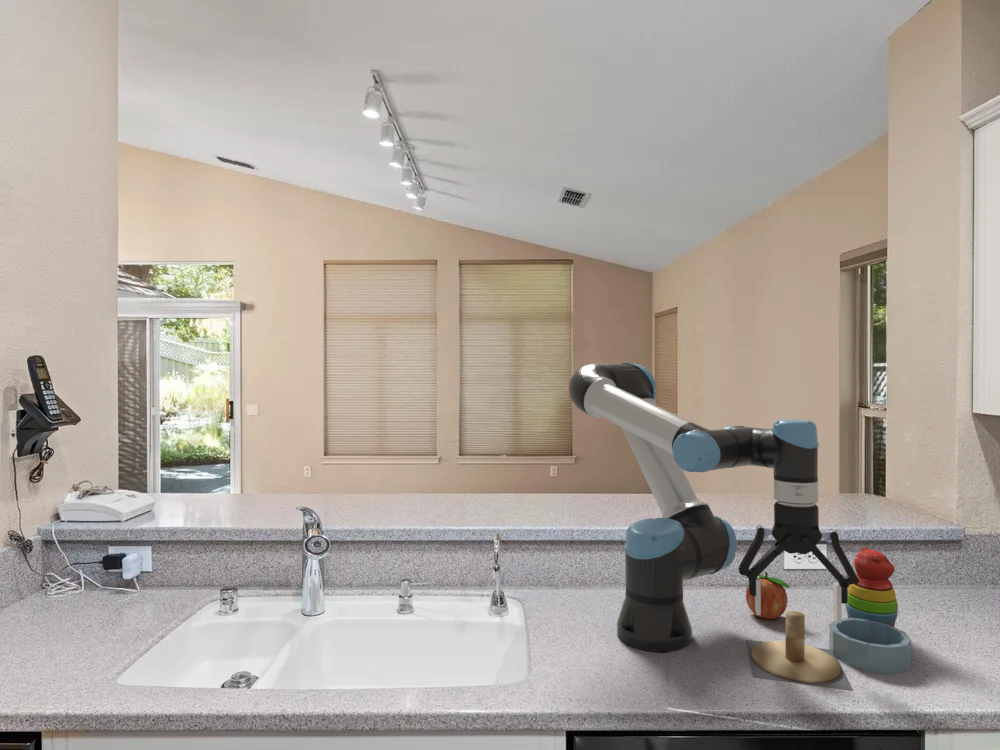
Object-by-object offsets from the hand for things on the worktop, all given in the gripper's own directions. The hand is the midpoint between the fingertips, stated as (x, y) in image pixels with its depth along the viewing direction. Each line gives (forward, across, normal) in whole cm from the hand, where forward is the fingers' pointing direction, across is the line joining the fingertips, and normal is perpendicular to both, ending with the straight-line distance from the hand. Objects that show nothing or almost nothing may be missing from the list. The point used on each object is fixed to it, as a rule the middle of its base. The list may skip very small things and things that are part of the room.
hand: (797, 616), depth 117 cm
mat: (+9, 0, 0) cm, 9 cm away
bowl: (+9, +14, +7) cm, 18 cm away
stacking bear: (+9, +17, +19) cm, 27 cm away
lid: (+9, 0, 0) cm, 9 cm away
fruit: (+9, -3, +23) cm, 25 cm away
